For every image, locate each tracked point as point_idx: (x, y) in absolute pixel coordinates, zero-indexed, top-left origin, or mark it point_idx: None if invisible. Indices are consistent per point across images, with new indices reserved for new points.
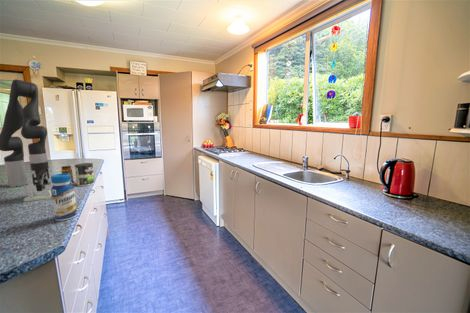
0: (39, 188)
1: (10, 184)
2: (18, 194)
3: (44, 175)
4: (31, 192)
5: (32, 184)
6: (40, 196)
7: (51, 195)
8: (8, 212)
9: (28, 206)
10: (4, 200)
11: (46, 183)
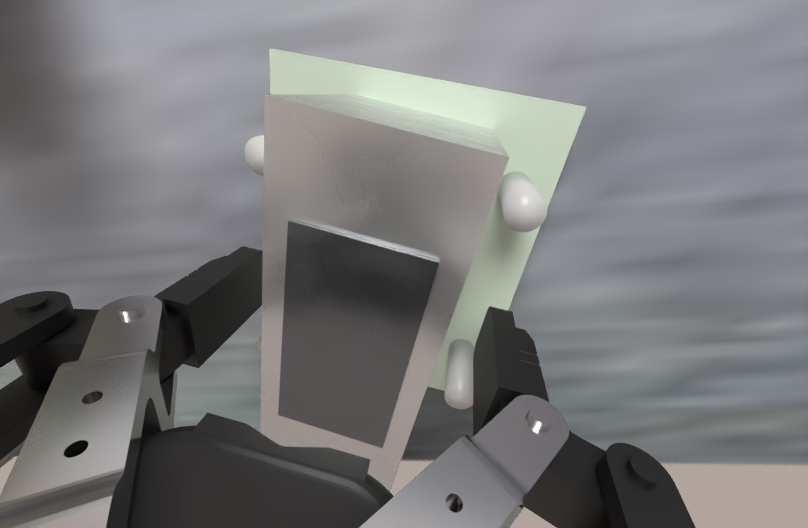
0: (537, 362)
1: (13, 456)
2: (221, 407)
3: (154, 500)
4: (471, 394)
5: (287, 444)
6: (481, 283)
7: (526, 166)
8: (764, 447)
9: (708, 343)
10: None
11: (327, 298)
